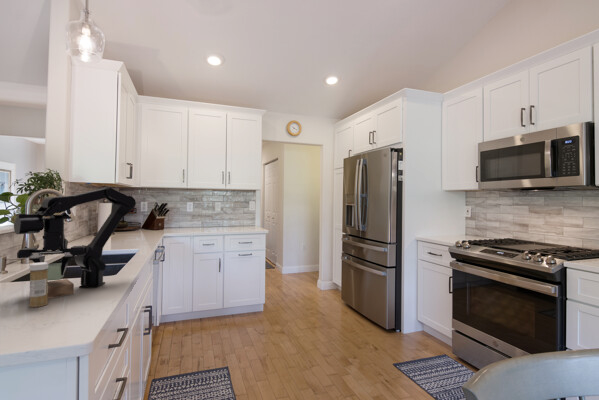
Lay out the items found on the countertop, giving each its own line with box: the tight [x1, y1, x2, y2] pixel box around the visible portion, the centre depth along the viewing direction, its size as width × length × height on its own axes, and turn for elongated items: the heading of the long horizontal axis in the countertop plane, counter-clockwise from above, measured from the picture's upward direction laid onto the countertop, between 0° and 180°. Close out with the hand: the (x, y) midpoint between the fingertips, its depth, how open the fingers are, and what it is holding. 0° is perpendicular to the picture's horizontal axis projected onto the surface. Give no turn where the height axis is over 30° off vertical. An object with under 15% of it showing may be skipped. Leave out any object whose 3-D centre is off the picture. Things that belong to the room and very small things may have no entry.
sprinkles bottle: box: [29, 261, 49, 308], centre depth 98 cm, size 5×5×14 cm
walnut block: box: [47, 278, 75, 300], centre depth 110 cm, size 10×10×4 cm
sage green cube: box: [47, 262, 65, 282], centre depth 110 cm, size 5×5×5 cm
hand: (53, 275), depth 110 cm, fingers closed on sage green cube, 5 cm apart
